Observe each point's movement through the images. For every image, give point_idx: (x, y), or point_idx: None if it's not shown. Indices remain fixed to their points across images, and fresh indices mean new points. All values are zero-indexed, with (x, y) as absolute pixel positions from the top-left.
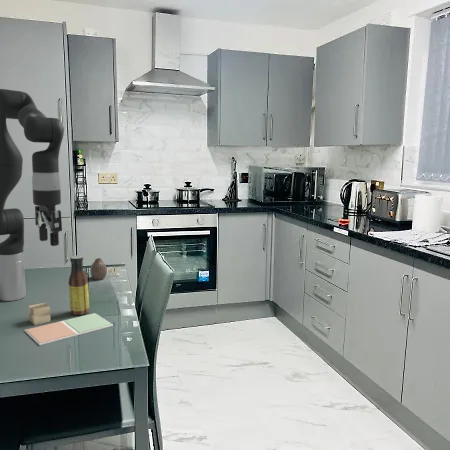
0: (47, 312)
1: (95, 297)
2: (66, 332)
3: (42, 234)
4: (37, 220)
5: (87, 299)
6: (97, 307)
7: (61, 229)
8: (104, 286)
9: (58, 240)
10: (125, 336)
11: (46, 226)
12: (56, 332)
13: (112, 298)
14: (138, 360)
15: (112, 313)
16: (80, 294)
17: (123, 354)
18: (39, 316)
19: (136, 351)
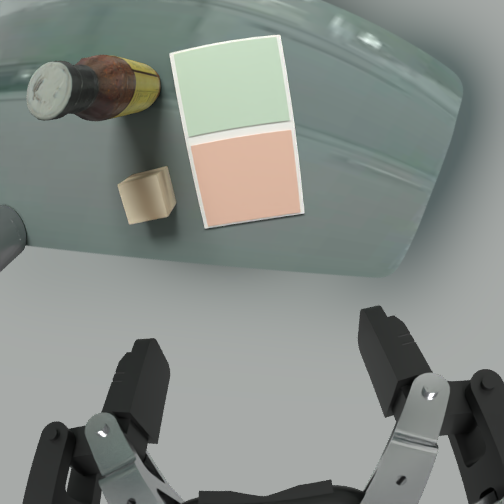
0: (162, 178)
1: (55, 46)
2: (273, 147)
3: (156, 396)
4: (98, 489)
5: (144, 65)
6: (124, 42)
7: (499, 380)
8: (4, 31)
9: (390, 325)
10: (355, 40)
11: (123, 429)
12: (260, 168)
13: (82, 6)
14: (455, 83)
15: (188, 14)
16: (144, 85)
17: (427, 88)
18: (169, 197)
19: (428, 63)
